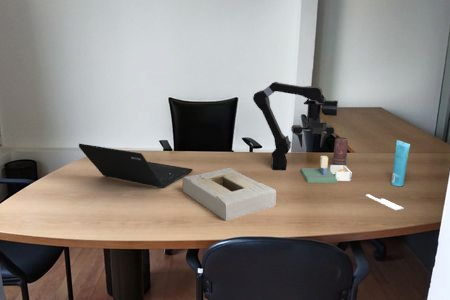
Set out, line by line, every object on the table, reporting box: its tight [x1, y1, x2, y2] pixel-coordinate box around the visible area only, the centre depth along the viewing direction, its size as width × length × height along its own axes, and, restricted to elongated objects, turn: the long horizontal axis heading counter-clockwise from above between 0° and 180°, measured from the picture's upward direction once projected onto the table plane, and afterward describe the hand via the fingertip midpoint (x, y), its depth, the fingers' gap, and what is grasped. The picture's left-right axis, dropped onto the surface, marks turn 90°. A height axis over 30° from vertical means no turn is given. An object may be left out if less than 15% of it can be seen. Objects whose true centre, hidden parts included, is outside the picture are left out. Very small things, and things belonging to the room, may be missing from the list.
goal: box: [329, 164, 353, 182], centre depth 176 cm, size 7×10×4 cm
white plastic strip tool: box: [365, 194, 405, 211], centre depth 150 cm, size 5×15×1 cm, turn 25°
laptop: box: [78, 143, 194, 188], centre depth 169 cm, size 33×38×19 cm
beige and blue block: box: [319, 155, 329, 175], centre depth 175 cm, size 3×7×8 cm, turn 1°
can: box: [332, 137, 350, 166], centre depth 190 cm, size 6×6×14 cm
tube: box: [391, 139, 411, 187], centre depth 165 cm, size 7×5×19 cm, turn 26°
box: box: [182, 167, 277, 222], centre depth 151 cm, size 23×8×32 cm
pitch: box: [300, 167, 338, 184], centre depth 176 cm, size 13×15×2 cm
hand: (311, 147), depth 180 cm, fingers open, 9 cm apart
